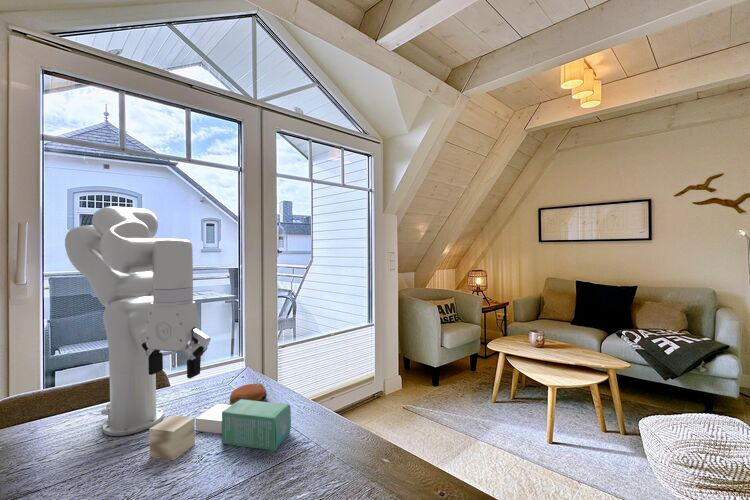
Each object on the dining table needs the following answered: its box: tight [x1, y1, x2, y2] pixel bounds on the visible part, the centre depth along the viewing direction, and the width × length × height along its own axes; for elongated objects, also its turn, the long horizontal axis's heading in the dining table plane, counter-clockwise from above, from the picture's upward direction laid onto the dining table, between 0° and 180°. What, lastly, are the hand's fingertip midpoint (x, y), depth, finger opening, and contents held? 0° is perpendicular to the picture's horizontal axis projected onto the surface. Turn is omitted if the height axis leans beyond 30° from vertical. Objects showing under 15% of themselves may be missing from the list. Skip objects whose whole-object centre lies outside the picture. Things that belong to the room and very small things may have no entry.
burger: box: [228, 383, 268, 405], centre depth 99 cm, size 10×9×5 cm
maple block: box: [148, 414, 196, 461], centre depth 76 cm, size 6×6×6 cm
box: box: [221, 399, 292, 452], centre depth 80 cm, size 7×14×8 cm, turn 77°
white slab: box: [195, 403, 231, 435], centre depth 87 cm, size 8×8×3 cm
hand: (174, 374), depth 76 cm, fingers open, 9 cm apart
